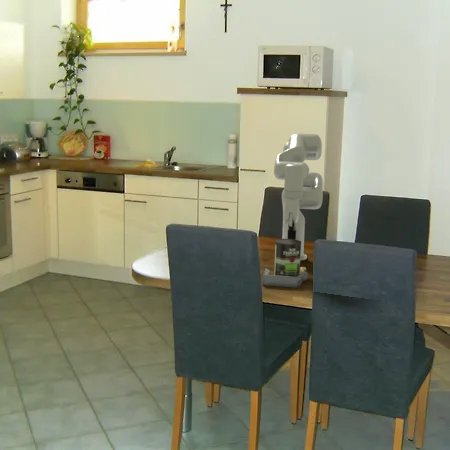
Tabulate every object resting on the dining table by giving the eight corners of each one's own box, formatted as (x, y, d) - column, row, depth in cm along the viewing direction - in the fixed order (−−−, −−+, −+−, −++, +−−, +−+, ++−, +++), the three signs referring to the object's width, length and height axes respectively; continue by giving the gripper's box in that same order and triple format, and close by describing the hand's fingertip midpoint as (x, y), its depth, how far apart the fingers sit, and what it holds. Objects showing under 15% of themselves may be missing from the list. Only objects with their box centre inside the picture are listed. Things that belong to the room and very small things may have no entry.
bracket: (264, 275, 273) (265, 266, 273) (307, 279, 270) (307, 269, 269) (258, 284, 261) (258, 274, 260) (303, 288, 257) (303, 278, 256)
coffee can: (303, 278, 271) (305, 243, 268) (279, 280, 268) (280, 244, 265) (294, 271, 280) (295, 238, 278) (270, 273, 278) (271, 239, 275)
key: (299, 269, 284) (299, 266, 284) (306, 270, 283) (306, 267, 283) (297, 273, 278) (297, 270, 277) (304, 274, 277) (304, 271, 277)
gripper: (286, 192, 286) (285, 235, 289) (281, 196, 271) (279, 242, 274) (304, 192, 284) (303, 236, 287) (300, 197, 269) (298, 243, 273)
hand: (291, 239), depth 281 cm, fingers closed
